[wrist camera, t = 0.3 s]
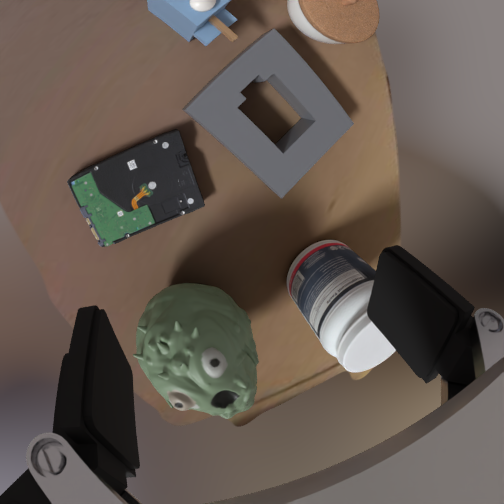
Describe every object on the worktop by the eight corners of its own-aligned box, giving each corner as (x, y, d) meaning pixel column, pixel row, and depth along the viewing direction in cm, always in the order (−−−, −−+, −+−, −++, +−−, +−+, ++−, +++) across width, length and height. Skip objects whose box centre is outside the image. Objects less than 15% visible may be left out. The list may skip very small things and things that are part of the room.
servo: (137, 1, 23) (132, -25, 16) (164, -21, 22) (168, -51, 15) (210, 60, 29) (225, 48, 22) (236, 37, 29) (259, 21, 22)
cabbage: (185, 355, 51) (207, 454, 34) (111, 290, 40) (100, 405, 23) (258, 312, 50) (306, 407, 34) (196, 230, 40) (230, 335, 23)
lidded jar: (262, -12, 26) (293, -38, 18) (330, -20, 26) (370, -38, 18) (291, 56, 32) (328, 47, 24) (354, 42, 32) (399, 37, 24)
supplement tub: (357, 270, 53) (420, 334, 38) (302, 312, 54) (352, 387, 38) (334, 220, 46) (411, 284, 31) (269, 269, 47) (323, 353, 31)
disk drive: (176, 126, 33) (70, 176, 31) (178, 128, 31) (64, 181, 29) (203, 199, 39) (104, 242, 37) (206, 206, 36) (102, 252, 35)
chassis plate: (262, 34, 29) (274, 28, 26) (337, 120, 38) (353, 123, 34) (182, 109, 32) (184, 110, 28) (270, 189, 40) (281, 198, 37)
